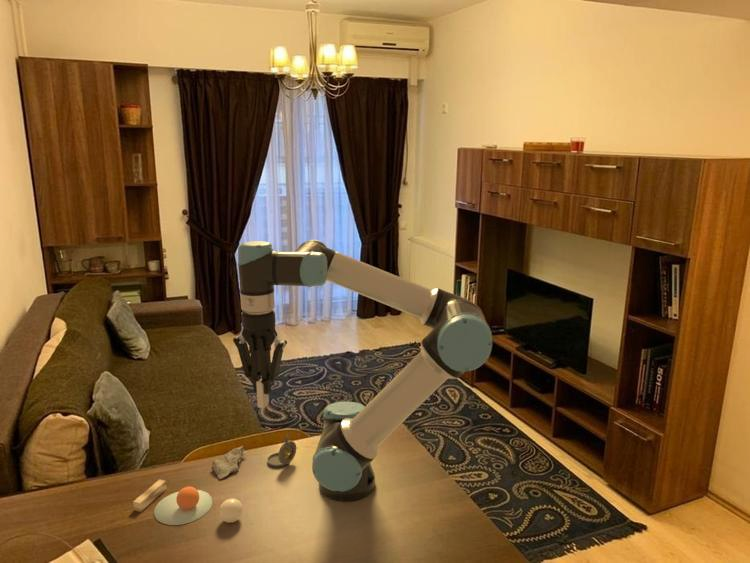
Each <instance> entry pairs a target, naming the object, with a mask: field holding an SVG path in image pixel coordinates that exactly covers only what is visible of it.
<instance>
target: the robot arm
mask: <svg viewBox="0 0 750 563" xmlns="http://www.w3.org/2000/svg"><path fill="white" fill-rule="evenodd" d="M237 251H238V252H237V260H238V261H237V267H238V277H239V278H238V280H239V294H240V296H239V297H240V308H241V310H242V312H241V326H242V330H241V334H239V335H237V336H236V337H234V338H233V339H232V341H233V343H234V345H235V347H236V348H237V350H238V355H239V359H240V361H241V366H242V369H243V373H244V375H245V377H246V378H250V379H252V381H253V392H254V393H255V394H256V402H257V404H256V405H257V408H260V409H265V408H266V407H267V405H269V404H270V400H269V399H270V396H269V394H270V393H271V392H272V381H274V380H275V379H276V378H277V377H279V373H280V369H281V363H282V357H283V353H284V348H285V347H286V346H287V344H288V341H287V340H286V339H281V338H280V337H279V336H278V332H277V330H276V325H277V324H276V323H277V322H276V321H277V320H276V311H275V309H274V308H275V307H276V302H275V286H285V287H286V286H289V287H291V286H292V287H293V286H294V287H296V286H297V287H307V288H308V287H311V288H312V287H318V286H319V287H320V286H323V285H325V284H326V282H329V283H332V284H334V285H337V286H339V287H341V288H344V289H346V290H349V291H351V292H354V293H357V294H358V295H361V296H363V297H366V298H368V299H371V300H373V301H376V302H378V303H381V304H383V305H386V306H388V307H390V308H393V309H395V310H397V311H401V312H403V313H406V314H408V315H411V316H413V317H415V318H418V320H420V322H421V324H422V325H424V326H426V327H429V328H430V329H432V330H431V331H429V332H428V334H427V335H426V336H425V337H424V338H423V339H422V340H421V341H420V351H419V352H418V354H416V355H415V356H414V357H413V358H412V359H411V361H409V362H408V363H407V365H406V366H404V368H402V369H401V370H400V371H399V372H398V374H396V375H395V376H394V377H393V379H392V380H391V381H389V382H388V383H387V384H386V385H384V387H383V388H382V389H381V390H380V391H379V392H378V393H377V395H375V396H374V397H373V398H372V399H371V401H369V402H368V403H367V404H366V406H365V405H364V404H362V403H360V402H356V401H355V402H354V401H337V402H333V403H330V404H328V405H327V406H326V407H325V408H324V409H323V415H322V418H323V429H322V432H321V436H320V438H319V441H318V445H317V446H316V447H317V448H316V449H315V450H316V451H315V452H314V454H313V456H312V465H311V468H312V469H311V470H312V473H313V474H312V475H313V476H314V478H315V479H316V480H315V481H316V482H318V488H319V491H320V492H321V494H322V495H323V496H325V497H327V498H329V499H331V500H334V501H338V502H354V501H357V500H358V501H359V500H360V499H364V498H365V497H367V496H368V495H370V494H371V493H372V492H373V491H374V489H375V485H376V476H375V473H374V472H375V471H374V470H373V467H372V464H371V463H372V462H373V460H374V459H376V458H377V457H378V454H379V446H380V445H381V444H382V443H383V442H384V441H385V440H386V439H387V438H388V437H389V436H390V435H391V434H392V433H393V432H394V431H396V429H397V428H398V427H400V425H401V424H402V423H403V422H405V421H406V420H407V419H408V418H409V416H411V414H413V413H414V412H415V411H416V410H417V409H418V408H419V407H420V406H421V405H422V404H423V403H425V401H426V400H427V399H428V398H430V397H431V396H432V394H434V392H435V391H436V390H438V389H439V388H440V386H442V385H443V384H444V383H445V382H446V381H447V380H448V379H450V380H453V379H454V380H456V379H457V380H458V379H459V378H460V377H461V376H462V375H463V374H464V373H465V372H471V371H472V372H473V371H474V370H477V369H478V368H480V367H482V366H483V365H484V364H485V363H486V361H487V360H488V359H489V357H490V355H491V352H492V349H493V335H492V331H491V327H490V325H489V324H488V323H487V321H486V317H485V314H484V312H483V310H482V309H481V308H480V307H479V305H477V304H476V303H474V302H473V301H471V300H469V299H467V298H465V297H462V296H459V295H458V294H457V295H456V294H454V293H451V292H448V291H446V290H445V289H444V290H443V289H441V288H439V287H435V288H433V289H430V288H428V287H425V286H423V285H420V284H417V283H416V282H413V281H410V280H408V279H405V278H402V277H400V276H399V275H395V274H394V273H391V272H388V271H385V270H383V269H380V268H378V267H376V266H373V265H371V264H368V263H366V262H363V261H361V260H358V259H356V258H353V257H351V256H349V255H347V254H344V253H341V252H338V251H336V250H335V249H334V250H333V249H331V248H329V247H328V246H326V244H325V243H324V242H323V241H320V240H319V239H309V240H307V241H304V242H303V243H301V244H300V245H299V247H297V249H295V250H294V251H277V250H276V251H275V250H274V248H273V245H272V244H271V242H269V241H261V240H254V241H253V240H251V241H245V242H243V243H241V244H240V245H239V246H238V249H237ZM273 344H274V345H273ZM272 345H273V346H274V350H273V353H272V358H271V351H272Z"/></svg>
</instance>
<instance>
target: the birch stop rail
mask: <svg viewBox="0 0 750 563" xmlns="http://www.w3.org/2000/svg"><path fill="white" fill-rule="evenodd" d="M167 488H168V486H167V481H166V480H164V479H158V480H157V481H156V482H154V484H152V485H151V486H149V488H148V489H146V490H145V491H144V492H143V493H142V494H140V495H139V496H138V497H137V498H136V499H135V500H133V501H132V503H133V510H134V511H136V512H140V513H142V511H144V510H145V508H147V507H148V506H149V505H150V504H151V503H153V501H155V500H156V499H157V498H158V497H159V496H160V495H162V494H163V493H164V492H165V491H166V490H167Z"/></svg>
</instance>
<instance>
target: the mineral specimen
mask: <svg viewBox="0 0 750 563" xmlns="http://www.w3.org/2000/svg"><path fill="white" fill-rule="evenodd" d="M246 454H247V451H245V449H244V445H241V446H239V447H234V448H232V449H231V450H230V451H228V452H227V453H224V454H223V455H222V456H220V457H218V458H217V459H215V460H213V461H212V463H211V464H212V465H211V469H210V470H211V471H212V472H214V473H215V475H216V476H217V479H218V480H222V479H224V478H225V477H227V476H229V475H230V473H236V472H238V471H239V465H238V464H239V463H240V462H241V460H242V459H243V456H246Z"/></svg>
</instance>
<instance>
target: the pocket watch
mask: <svg viewBox="0 0 750 563" xmlns="http://www.w3.org/2000/svg"><path fill="white" fill-rule="evenodd" d="M289 437H291V433H287V434H286V435H285V436H284V437H283V440H284V442H283V443H282V445H281V446H280V448H279V450H278V452H275V453H272V454H270V455H269V456H268V457H267V459H266V460H267V464H268V465H270V466H272V467H276V468H279V467H284V466H286V465H289V463H291V462H292V461H293V460H294V458H295V456H296V453H297V445H296V443H295V442H294V441H293V440H290V439H289Z"/></svg>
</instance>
